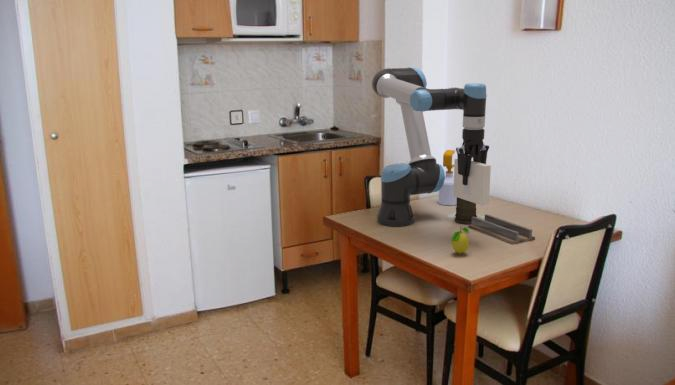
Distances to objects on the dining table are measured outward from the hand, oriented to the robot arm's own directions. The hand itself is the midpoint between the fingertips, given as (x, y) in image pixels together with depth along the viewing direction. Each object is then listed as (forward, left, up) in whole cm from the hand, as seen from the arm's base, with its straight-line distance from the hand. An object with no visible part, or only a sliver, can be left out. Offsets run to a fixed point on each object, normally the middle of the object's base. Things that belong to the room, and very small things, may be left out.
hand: (470, 192), depth 201 cm
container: (+14, +19, -18) cm, 29 cm away
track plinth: (+15, 0, -18) cm, 23 cm away
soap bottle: (+26, +46, -18) cm, 56 cm away
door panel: (0, 0, -3) cm, 3 cm away
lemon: (-13, -11, -18) cm, 25 cm away
